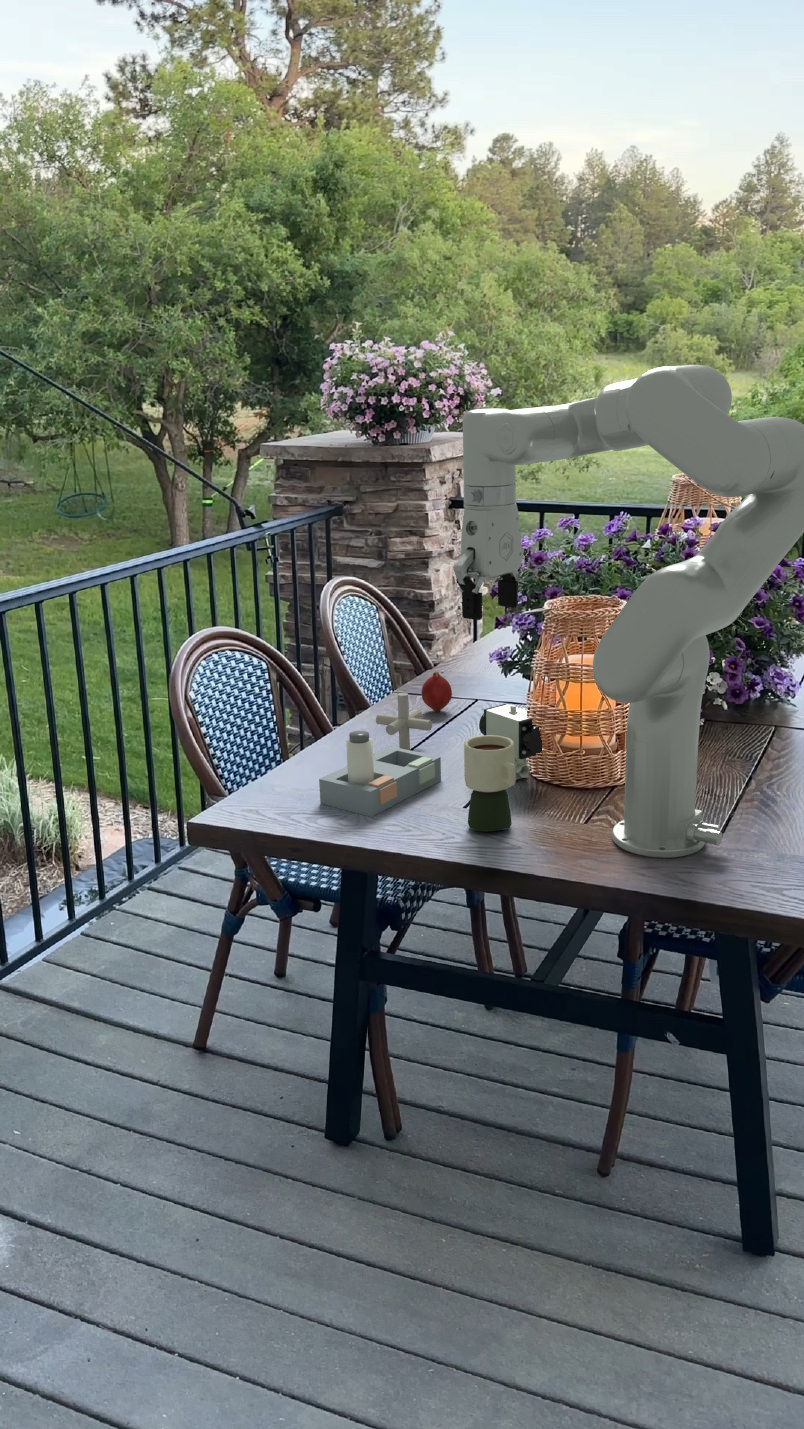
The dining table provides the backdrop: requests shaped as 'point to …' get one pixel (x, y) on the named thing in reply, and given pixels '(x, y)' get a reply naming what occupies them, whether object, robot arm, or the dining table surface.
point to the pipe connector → (404, 721)
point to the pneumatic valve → (513, 733)
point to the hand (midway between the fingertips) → (490, 612)
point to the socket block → (382, 782)
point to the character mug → (489, 781)
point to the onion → (436, 692)
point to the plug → (360, 758)
